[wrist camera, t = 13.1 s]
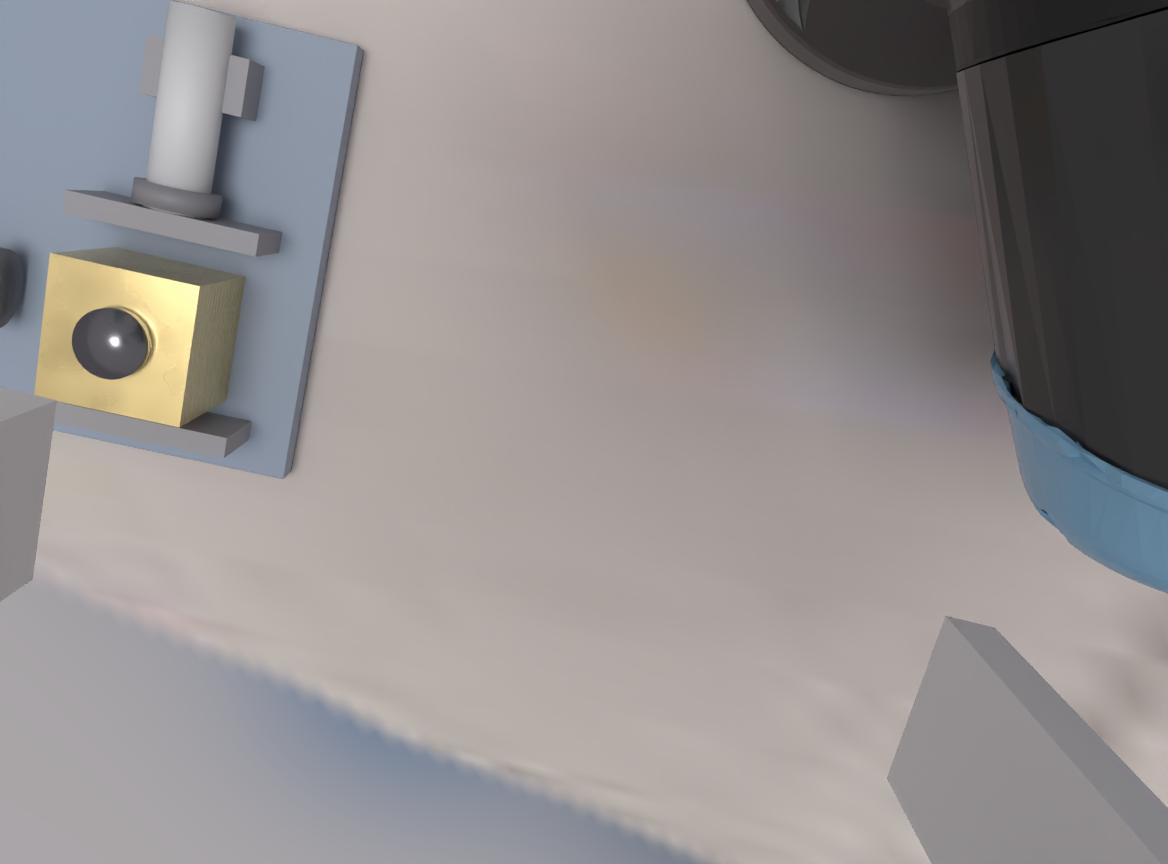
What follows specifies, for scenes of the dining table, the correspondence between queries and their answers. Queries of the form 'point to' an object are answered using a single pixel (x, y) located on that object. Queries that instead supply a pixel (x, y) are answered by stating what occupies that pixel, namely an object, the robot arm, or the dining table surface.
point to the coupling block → (137, 334)
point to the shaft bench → (175, 190)
